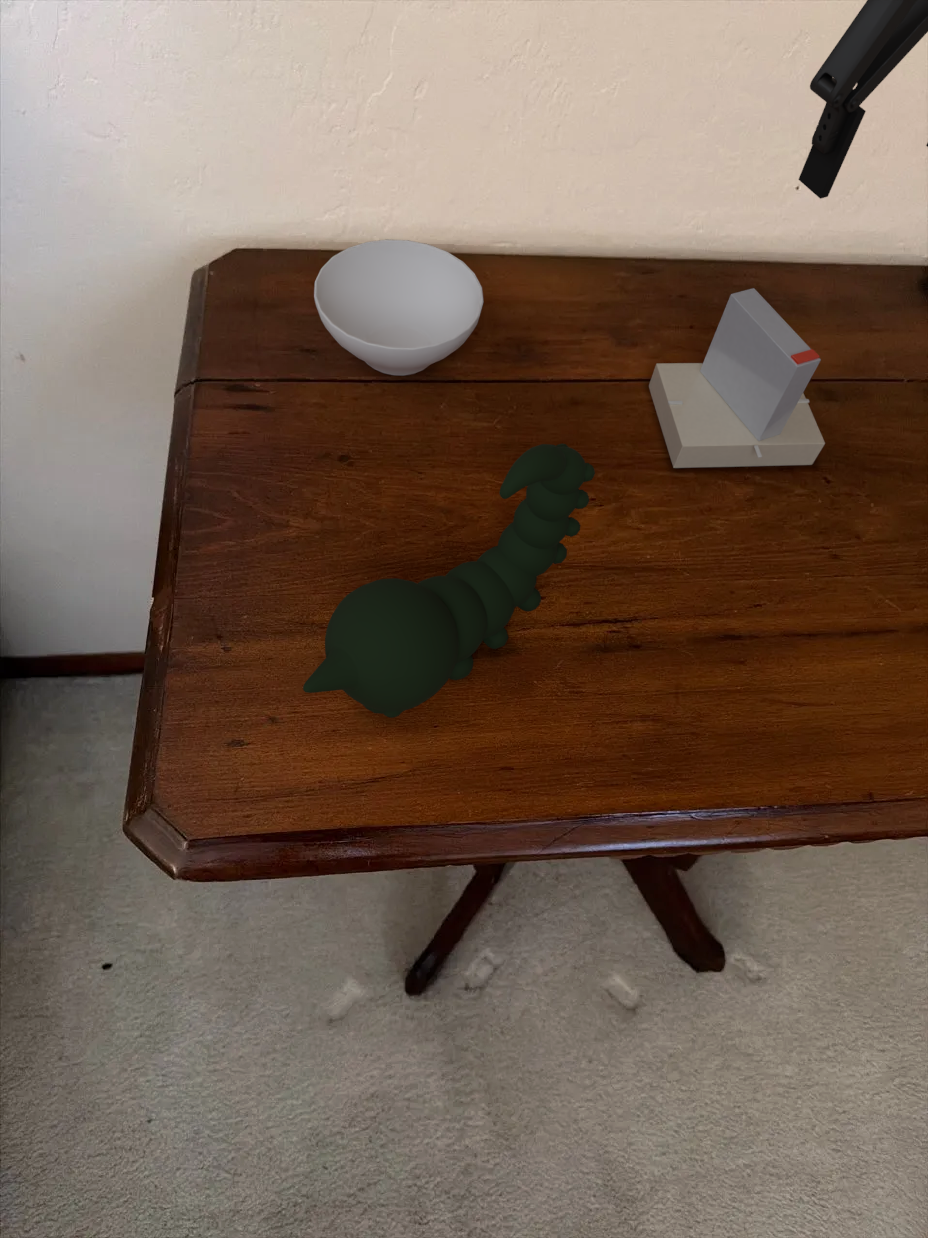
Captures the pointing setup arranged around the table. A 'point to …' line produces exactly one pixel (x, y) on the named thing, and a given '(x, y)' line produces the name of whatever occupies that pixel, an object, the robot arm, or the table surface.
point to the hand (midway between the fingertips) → (878, 170)
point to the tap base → (723, 425)
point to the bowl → (398, 303)
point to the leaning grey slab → (758, 364)
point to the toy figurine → (453, 597)
